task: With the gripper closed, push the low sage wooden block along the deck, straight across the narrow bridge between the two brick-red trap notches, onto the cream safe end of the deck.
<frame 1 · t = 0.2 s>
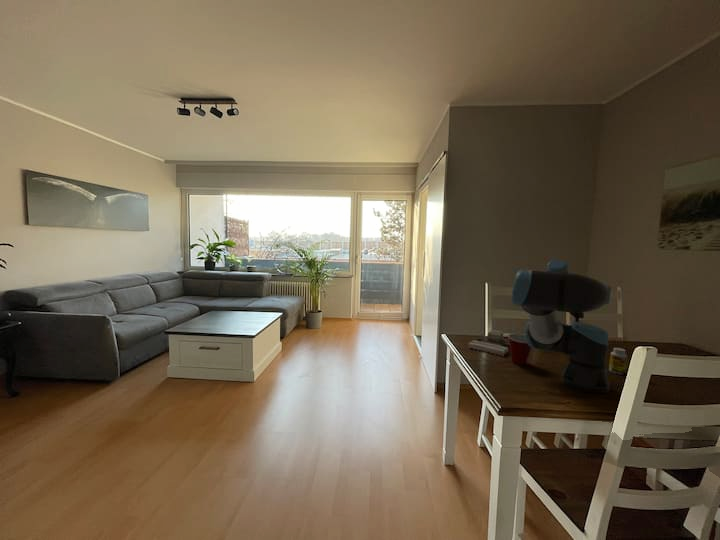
hand: (557, 324, 154), 16 cm above the table, tool tilted 35°, fingers open, 13 cm apart
trap deck: (491, 347, 167), on the table
sage block: (495, 339, 171), point 2 cm above the table, touching trap deck
plastic cup: (518, 363, 146), on the table
supplement bottle: (616, 372, 139), on the table
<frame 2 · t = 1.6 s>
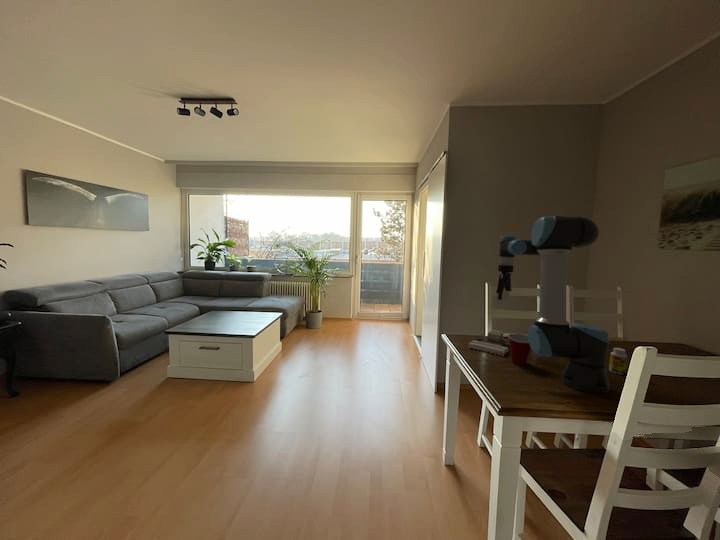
hand: (503, 303, 177), 21 cm above the table, tool pointing down, fingers open, 12 cm apart
nothing on the table moved.
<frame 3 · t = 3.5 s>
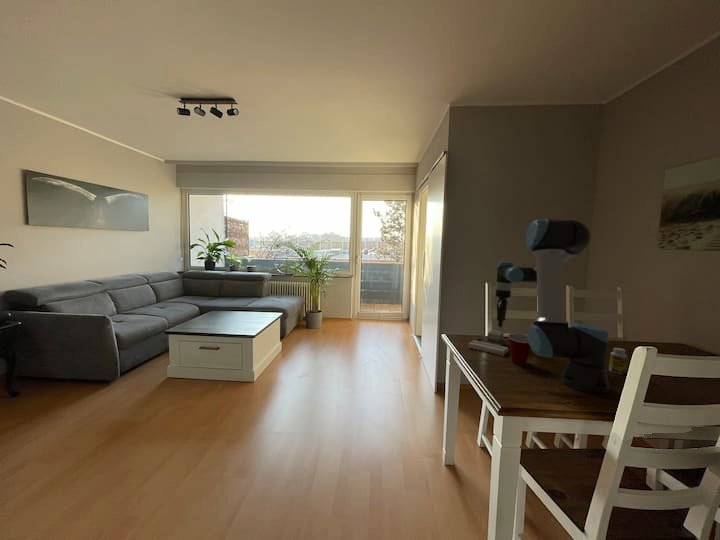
hand: (500, 331, 178), 5 cm above the table, tool pointing down, fingers closed
nothing on the table moved.
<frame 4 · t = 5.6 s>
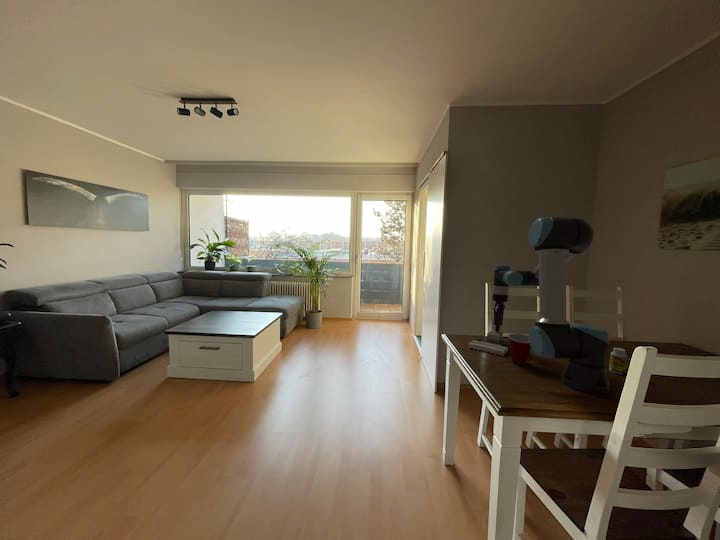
hand: (497, 336, 174), 4 cm above the table, tool pointing down, fingers closed
sage block: (494, 340, 171), point 3 cm above the table, touching gripper, trap deck
everything else where it was.
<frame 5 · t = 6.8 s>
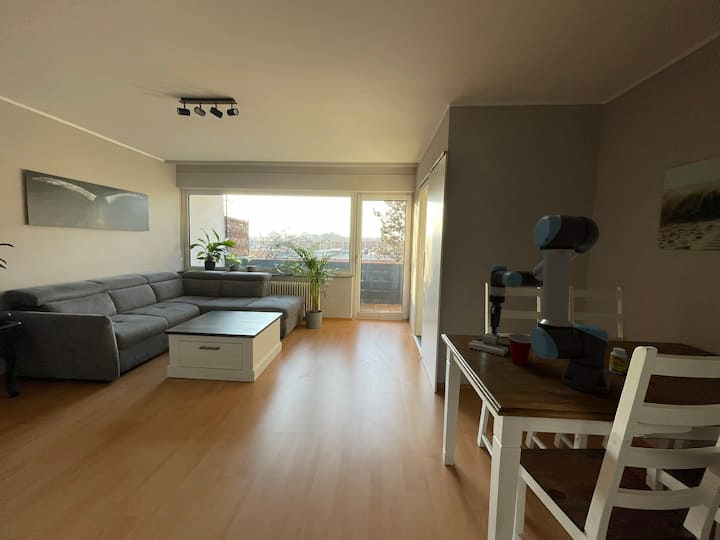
hand: (493, 339, 169), 4 cm above the table, tool pointing down, fingers closed
sage block: (491, 342, 166), point 3 cm above the table
everything else where it was.
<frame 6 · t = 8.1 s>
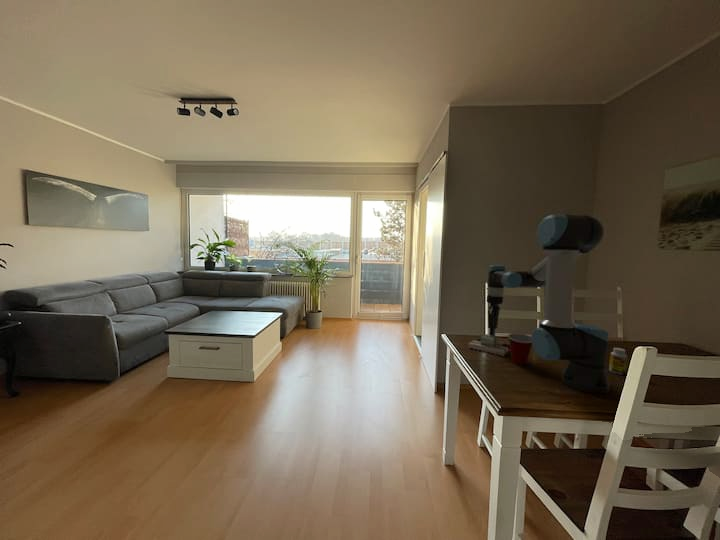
hand: (491, 340, 166), 4 cm above the table, tool pointing down, fingers closed
sage block: (488, 344, 163), point 2 cm above the table, touching gripper, trap deck
everything else where it was.
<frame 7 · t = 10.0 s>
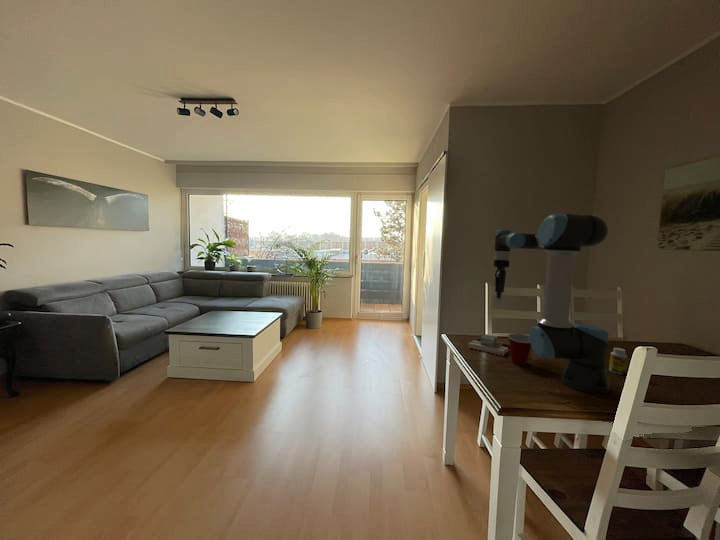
hand: (498, 304, 170), 22 cm above the table, tool pointing down, fingers closed
sage block: (488, 344, 163), point 2 cm above the table, touching trap deck
everything else where it was.
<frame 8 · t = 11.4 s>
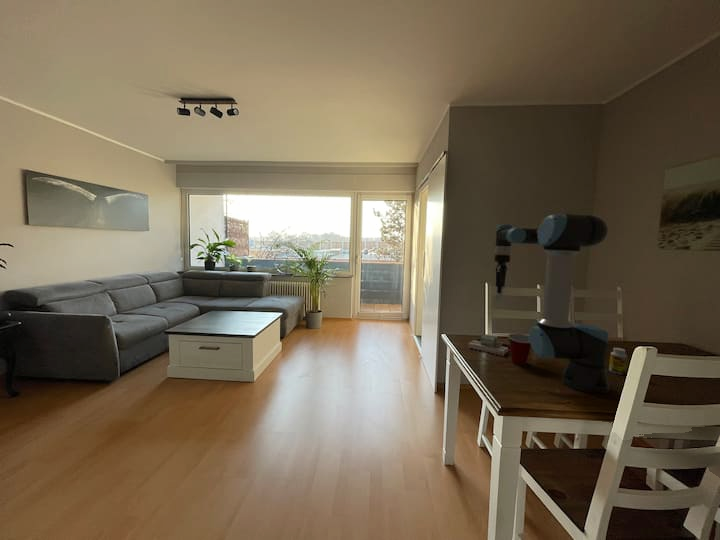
hand: (499, 298, 171), 24 cm above the table, tool pointing down, fingers closed
nothing on the table moved.
at the end: sage block 1.2 cm from the target spot, point 2.5 cm above the table; sage block tilted 0° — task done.
